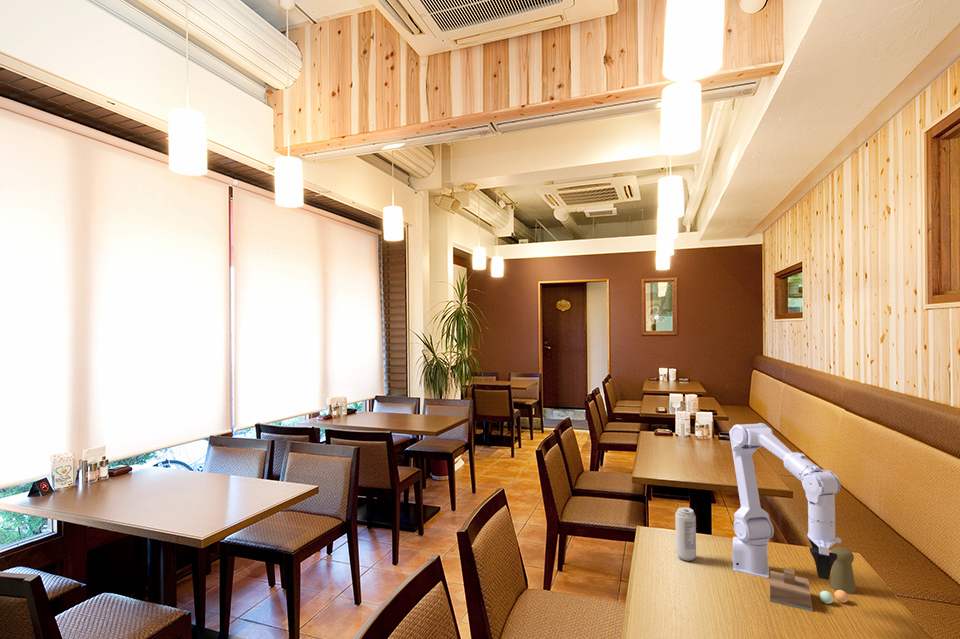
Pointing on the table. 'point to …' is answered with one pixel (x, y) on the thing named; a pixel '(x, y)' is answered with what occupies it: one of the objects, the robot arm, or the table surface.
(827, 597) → the mint ball
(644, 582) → the table surface
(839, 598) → the terracotta ball
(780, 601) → the plate
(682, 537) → the energy drink can
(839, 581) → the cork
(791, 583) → the walnut cover
